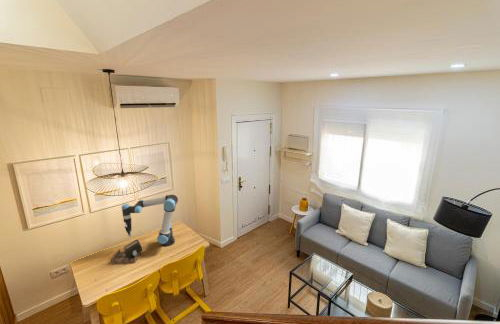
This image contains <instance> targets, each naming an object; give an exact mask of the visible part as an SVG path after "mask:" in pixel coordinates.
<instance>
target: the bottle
mask: <svg viewBox="0 0 500 324" xmlns="http://www.w3.org/2000/svg"><path fill="white" fill-rule="evenodd" d="M123 247H124V248H123V249H124V252H125V254H126V256H127V258H131V257H133V256H135V255H137V254H138V253H139V252H141V253H142V251H143V247H142V245H141V243H140V241H139V240H138V239H135V240H134V241H131V242H130V243H128V244H126V245H124V246H123Z"/></svg>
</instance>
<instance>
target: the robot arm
mask: <svg viewBox="0 0 500 324" xmlns="http://www.w3.org/2000/svg"><path fill="white" fill-rule="evenodd" d="M178 201H179V198H178V196H176V195H175V194H168V195H165V196H161V197H156V198H151V199H145V200H143V199H139V200H138V201H137V202H136V203H135V204H134V205H130V204H129V203H124V204H122V205H121V213H122V219H123V222H124V223H125V226H124V229H125V232H126V233H127V236H128V238H132V237H133V236H132V230H133V229H132V228H133V227H132V214H140V213H141V212H142V211H143V208H147V207H151V206H153V207H154V206H159V205H163V210H164V213H163V218H162V223H161V228H160V229H159V232H158V236H157V237H156V240H157V242H158V243H159V244H161V245H162V247H163V246H164V247H170V246H172V245H174V244H175V243H176V239H175V237H174V234H173V233H174V231H173V225H172V224H171V222H172V217H173V213H174V212H175V210H176V206H177V203H178Z"/></svg>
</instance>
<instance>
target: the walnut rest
mask: <svg viewBox="0 0 500 324" xmlns="http://www.w3.org/2000/svg"><path fill="white" fill-rule="evenodd" d="M141 253H142V251H141V252H139V253H138V254H137V255H135V256H133V257H131V258H127V256H126V254H125V251H124V252H121V249H118V250H117V251H116V252H115V254H113V257H112V258H111V259H110V263H111V265H118V264H119V265H120V264H121V265H122V264H136V262H137V261H138V259H139V257H140V255H141Z"/></svg>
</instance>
